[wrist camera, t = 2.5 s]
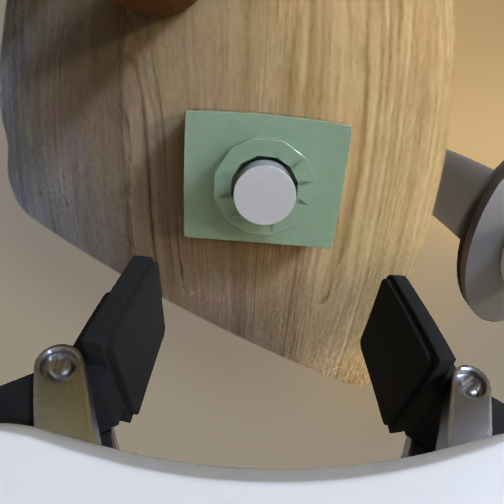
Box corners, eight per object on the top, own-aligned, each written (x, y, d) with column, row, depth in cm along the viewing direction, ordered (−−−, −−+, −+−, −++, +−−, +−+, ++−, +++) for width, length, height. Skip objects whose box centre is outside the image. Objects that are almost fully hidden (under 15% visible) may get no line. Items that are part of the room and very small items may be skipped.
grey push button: (296, 162, 21) (299, 169, 19) (289, 216, 23) (292, 228, 21) (237, 157, 21) (234, 163, 19) (233, 211, 22) (231, 222, 21)
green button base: (341, 122, 23) (360, 128, 19) (324, 232, 28) (336, 259, 24) (194, 109, 23) (178, 112, 19) (191, 221, 28) (178, 247, 23)
